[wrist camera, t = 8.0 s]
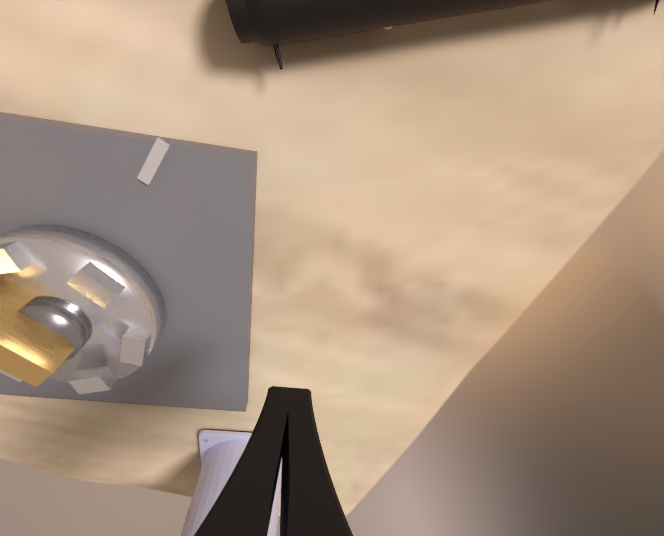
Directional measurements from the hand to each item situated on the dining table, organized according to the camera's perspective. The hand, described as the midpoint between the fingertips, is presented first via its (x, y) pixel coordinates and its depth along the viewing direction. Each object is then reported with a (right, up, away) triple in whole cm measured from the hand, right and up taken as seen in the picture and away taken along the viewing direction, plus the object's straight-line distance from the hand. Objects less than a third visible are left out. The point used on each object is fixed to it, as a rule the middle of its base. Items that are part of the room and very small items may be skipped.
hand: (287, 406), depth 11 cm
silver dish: (-15, +4, +7) cm, 17 cm away
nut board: (-14, +3, +10) cm, 17 cm away
